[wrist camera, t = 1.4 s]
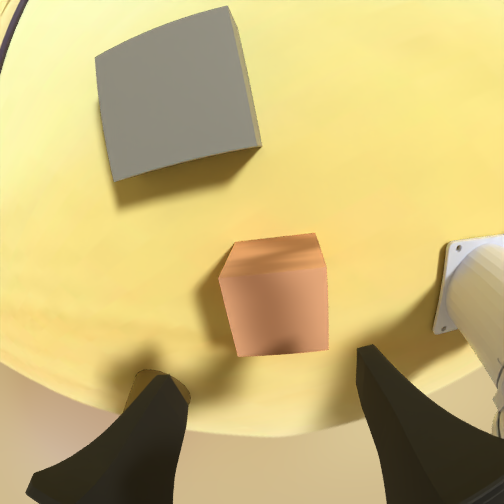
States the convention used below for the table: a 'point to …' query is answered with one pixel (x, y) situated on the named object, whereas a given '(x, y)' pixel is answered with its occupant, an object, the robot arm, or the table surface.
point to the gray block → (176, 95)
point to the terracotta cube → (276, 296)
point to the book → (9, 23)
